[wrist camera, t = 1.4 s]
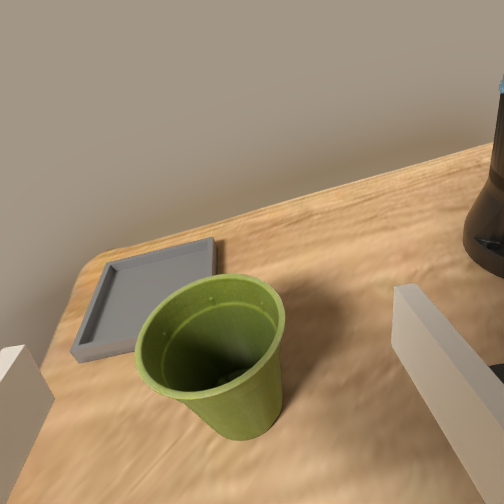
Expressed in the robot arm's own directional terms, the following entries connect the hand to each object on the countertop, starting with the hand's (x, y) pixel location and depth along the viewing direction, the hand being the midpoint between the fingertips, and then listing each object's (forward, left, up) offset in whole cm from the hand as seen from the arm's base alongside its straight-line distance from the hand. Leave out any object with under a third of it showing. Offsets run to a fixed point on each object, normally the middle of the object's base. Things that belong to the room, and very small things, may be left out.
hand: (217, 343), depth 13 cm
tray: (-17, -28, -21) cm, 39 cm away
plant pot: (-7, -9, -21) cm, 24 cm away
